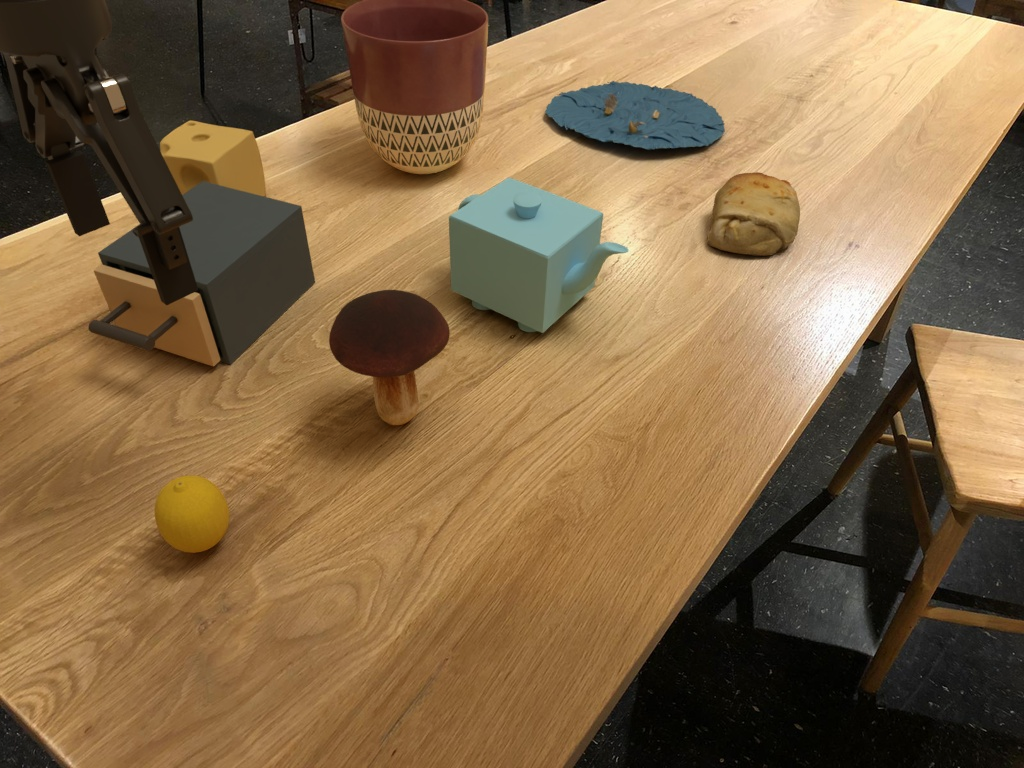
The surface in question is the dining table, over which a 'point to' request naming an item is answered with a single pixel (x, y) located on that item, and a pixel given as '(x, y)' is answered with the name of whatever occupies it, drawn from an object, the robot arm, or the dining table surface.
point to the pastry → (754, 215)
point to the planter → (418, 78)
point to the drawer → (154, 316)
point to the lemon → (191, 513)
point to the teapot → (526, 252)
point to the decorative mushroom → (389, 346)
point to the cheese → (214, 157)
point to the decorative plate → (638, 116)
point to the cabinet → (236, 260)
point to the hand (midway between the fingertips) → (134, 260)
